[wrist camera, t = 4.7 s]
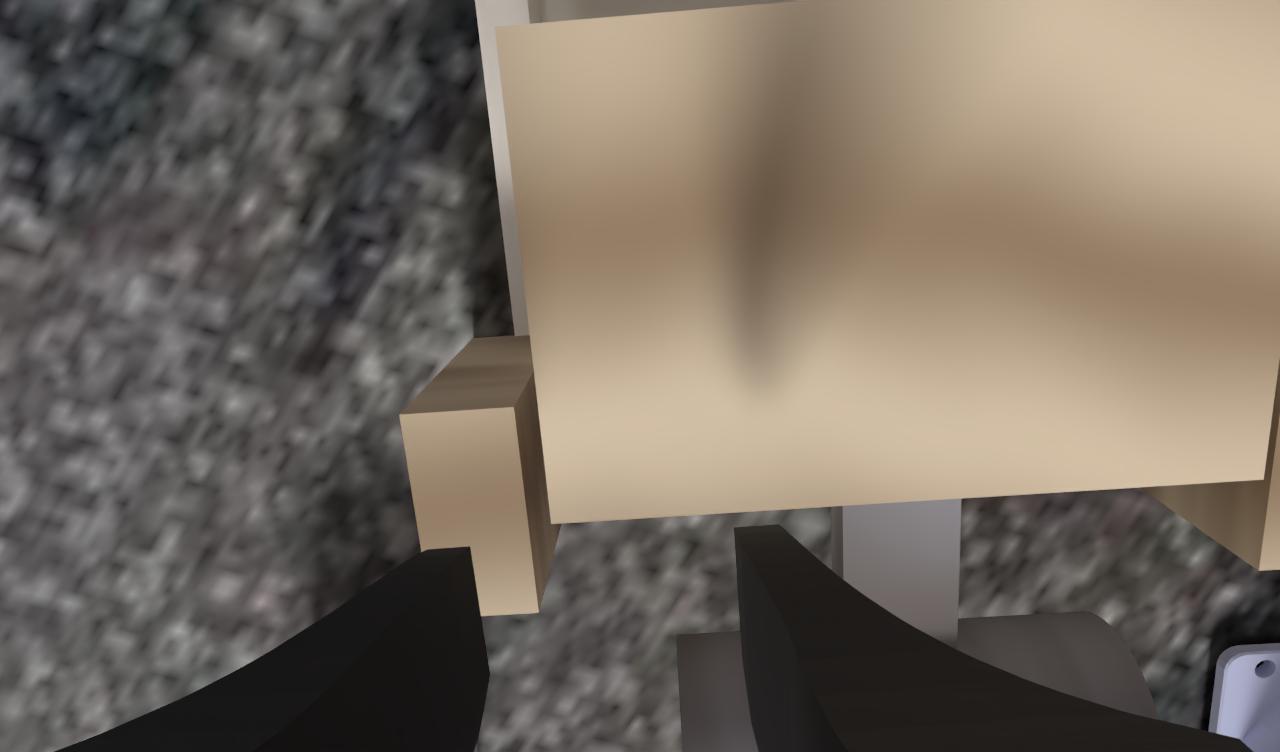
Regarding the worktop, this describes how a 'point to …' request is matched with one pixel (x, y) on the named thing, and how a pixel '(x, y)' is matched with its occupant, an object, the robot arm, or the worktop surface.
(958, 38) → the trapdoor
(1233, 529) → the trapdoor posts
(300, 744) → the robot arm
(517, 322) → the tray
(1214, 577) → the worktop surface
